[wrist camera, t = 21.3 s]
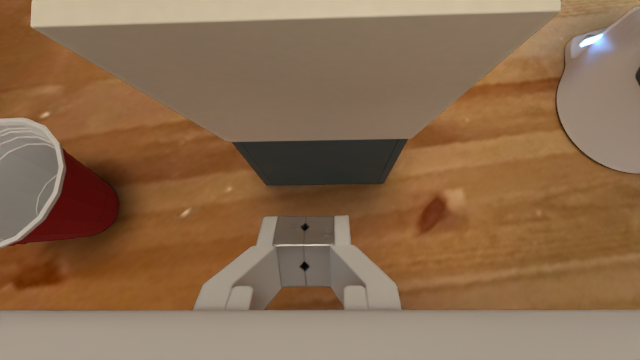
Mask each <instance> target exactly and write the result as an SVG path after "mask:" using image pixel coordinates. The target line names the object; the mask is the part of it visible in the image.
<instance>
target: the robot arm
mask: <svg viewBox="0 0 640 360" xmlns="http://www.w3.org/2000/svg"><path fill="white" fill-rule="evenodd" d="M565 64H566V66H565V70H564V73H563V75H562V78H561V80H560V83H559V86H558V90H557V109H558V114H559V118H560V120H561V123H562V125H563V127H564V129H565V131H566V133H567V134H568V136H569V137H570V139H571V140H572V141H573V142H574V143H575V145H576V146H577V147H578V148H579V149H580V150H581V151H583V152H584V153H585V154H586V155H588V156H589V157H590V158H592V159H593V160H595V161H597V162H598V163H600V164H602V165H604V166H607V167H609V168H612V169H615V170H618V171H622V172H627V173H636V174H640V6H636V7H634V8H633V9H631V10H630V11H628V12H627V13H626V14H625V15H623V16H622V17H621V18H620V19H618V20H617V21H616V22H615V23H613V24H612V25H611V26H609V27H605V28H602V29H599V30H595V31H592V32H589V33H585V34H582V35H579V36H576V37H574V38H573V39H572V40H570V41H569V42H568V43H567V44H566V46H565ZM298 286H317V287H331V289H332V290H333V292H334V293H335V295H336V296H337V297H338V299H339V300H340V302H341V303H342V305H343V306H344V310H264V309H265V308H266V307H267V305H268V304H269V303H270V302H271V301H272V299H273V298H274V297H275V296H276V294H277V293H278V292H279V291H280V290H281V287H298ZM0 360H640V309H543V310H402V308H401V303H400V298H399V293H398V288H397V284H396V283H395V282H394V281H393V280H392V279H390V278H389V277H388V276H387V275H386V274H385V273H384V272H383V271H382V270H381V269H380V268H379V267H378V266H377V265H376V264H375V263H373V262H372V261H371V260H370V259H369V258H368V257H367V256H366V255H365V254H364V253H363V252H362V251H361V250H360V249H359V248H358V247H357V246H355V245H351V237H350V223H349V216H348V215H339V216H316V217H306V216H279V217H278V216H265V217H264V218H263V220H262V223H261V227H260V231H259V235H258V239H257V242H256V246H251V247H250V248H249V249H247V250H246V251H245V252H243V253H242V254H241V255H240V256H238V257H237V258H236V259H235V260H233V261H232V262H231V263H230V264H228V265H227V266H226V267H224V268H223V269H222V270H221V271H219V272H218V273H217V274H216V275H214V276H213V277H212V278H211V279H209V280H208V281H207V282H206V283H204V284H203V285H202V288H201V290H200V293H199V295H198V298H197V300H196V303H195V305H194V308H193V310H0Z"/></svg>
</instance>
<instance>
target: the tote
mask: <svg viewBox="0 0 640 360" xmlns="http://www.w3.org/2000/svg"><path fill="white" fill-rule="evenodd" d="M407 140H408V139H367V140H311V141H256V142H232V143H233V144H234V146H235V147H236V148H237V149H238V151H239V152H240V153H241V154H242V156H243V157H244V158H245V159H246V161H247V162H248V163H249V164H250V166H251V167H252V168H253V169H254V170H255V172H256V173H257V174H258V175H259V177H260V178H261V179H262V180H263V182H264V183H265V184H266V185H325V184H383V183H384V182H385V180H386V178H387V176H388V174H389V173H390V171H391V169H392V167H393V165H394V164H395V162H396V160H397V158H398V156H399V155H400V153H401V151H402V149H403V147H404V145H405V144H406V142H407Z"/></svg>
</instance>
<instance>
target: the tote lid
mask: <svg viewBox="0 0 640 360" xmlns="http://www.w3.org/2000/svg"><path fill="white" fill-rule="evenodd" d="M560 11H561V0H32V4H31V27H32V28H33V29H35V30H37V31H38V32H40V33H42V34H43V35H45V36H47V37H49V38H50V39H52V40H54V41H55V42H57V43H59V44H61V45H62V46H64V47H66V48H67V49H69V50H71V51H73V52H74V53H76V54H78V55H79V56H81V57H83V58H84V59H86V60H88V61H90V62H91V63H93V64H95V65H96V66H98V67H100V68H102V69H103V70H105V71H107V72H108V73H110V74H112V75H114V76H115V77H117V78H119V79H120V80H122V81H124V82H126V83H127V84H129V85H131V86H132V87H134V88H136V89H137V90H139V91H141V92H143V93H144V94H146V95H148V96H149V97H151V98H153V99H155V100H156V101H158V102H160V103H161V104H163V105H165V106H167V107H168V108H170V109H172V110H173V111H175V112H177V113H178V114H180V115H182V116H184V117H185V118H187V119H189V120H190V121H192V122H194V123H196V124H197V125H199V126H201V127H202V128H204V129H206V130H208V131H209V132H211V133H213V134H214V135H216V136H218V137H220V138H221V139H223V140H225V141H226V142H256V141H311V140H367V139H412V138H413V137H414V136H415V135H416V134H418V133H419V132H420V131H421V130H422V129H423V128H425V127H426V126H427V125H428V124H429V123H430V122H432V121H433V120H434V119H435V118H436V117H437V116H439V115H440V114H441V113H442V112H443V111H444V110H446V109H447V108H448V107H449V106H450V105H451V104H453V103H454V102H455V101H456V100H457V99H458V98H460V97H461V96H462V95H463V94H464V93H465V92H467V91H468V90H469V89H470V88H471V87H472V86H474V85H475V84H476V83H477V82H478V81H479V80H481V79H482V78H483V77H484V76H485V75H487V74H488V73H489V72H490V71H491V70H492V69H494V68H495V67H496V66H497V65H498V64H499V63H501V62H502V61H503V60H504V59H505V58H506V57H508V56H509V55H510V54H511V53H512V52H513V51H515V50H516V49H517V48H518V47H519V46H520V45H522V44H523V43H524V42H525V41H526V40H527V39H529V38H530V37H531V36H532V35H533V34H534V33H536V32H537V31H538V30H539V29H540V28H541V27H543V26H544V25H545V24H546V23H547V22H549V21H550V20H551V19H552V18H553V17H554V16H556V15H557V14H558V13H559V12H560Z"/></svg>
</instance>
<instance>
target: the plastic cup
mask: <svg viewBox="0 0 640 360" xmlns="http://www.w3.org/2000/svg"><path fill="white" fill-rule="evenodd" d="M118 206H119V202H118V198H117V195H116V193H115V192H114V190H113V189H112V188H111V187H110V186H109V185H108V184H107V183H106V182H104V181H103V180H102V179H100V178H99V177H97V175H96V174H95V173H93V172H92V171H91V170H89V169H88V168H87V167H85V166H84V165H83V164H81V163H80V162H79V161H77V160H76V159H75V158H73V157H72V156H71V155H69V154H68V153H67V152H66V151H65V150H64V149H63V148H62V145H61V144H60V143H59V142H58V140H57V139H56V138H55V137H54V136H53V134H52V133H51V132H50V131H49V130H48V128H47V127H46V126H44V125H42V124H39V123H37V122H34V121H32V120H29V119H27V118H7V119H0V248H3V247H5V246H14V245H16V244H26V243H29V242H41V241H53V240H64V239H73V238H75V237H87V236H92V235H95V234H97V233H100V232H102V231H104V230H105V229H107V228H108V227H109V226H110V225H111V224H112V223H113V221H114V219H115V217H116V216H117V214H118Z"/></svg>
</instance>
